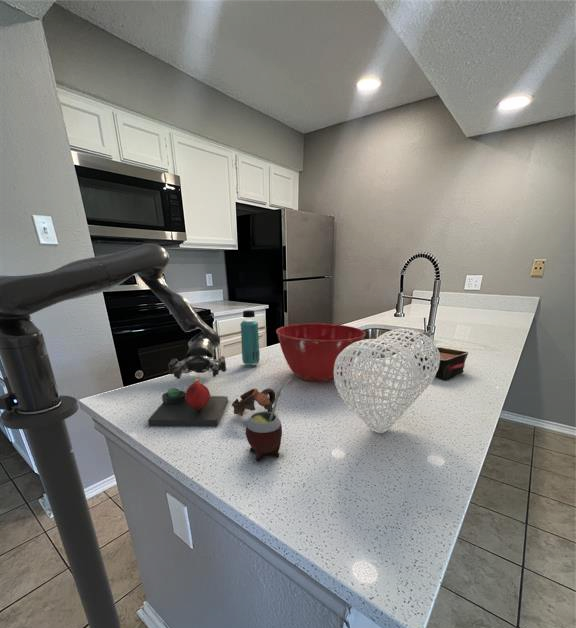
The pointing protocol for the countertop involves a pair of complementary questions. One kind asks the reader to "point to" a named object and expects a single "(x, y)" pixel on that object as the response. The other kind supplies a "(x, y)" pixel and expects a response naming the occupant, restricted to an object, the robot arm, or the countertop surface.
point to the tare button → (173, 392)
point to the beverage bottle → (249, 339)
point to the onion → (197, 395)
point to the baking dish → (448, 363)
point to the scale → (188, 412)
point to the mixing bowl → (316, 348)
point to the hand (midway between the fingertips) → (195, 374)
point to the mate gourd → (265, 431)
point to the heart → (414, 387)
